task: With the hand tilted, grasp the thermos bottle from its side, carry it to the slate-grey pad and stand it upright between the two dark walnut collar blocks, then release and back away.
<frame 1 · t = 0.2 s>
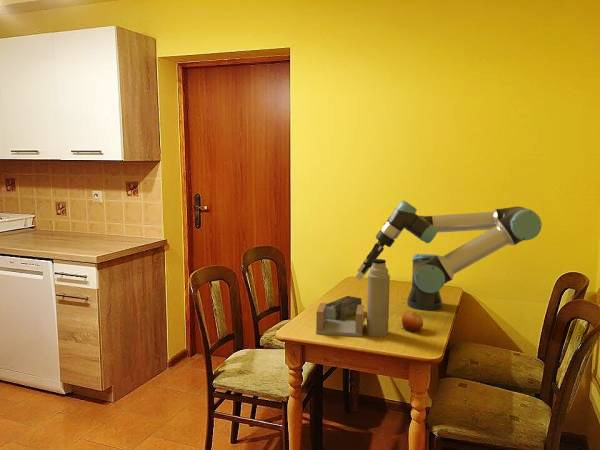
hand: (358, 275, 217), 16 cm above the table, tool tilted 35°, fingers open, 13 cm apart
thermos bottle: (377, 333, 193), on the table
fruit: (411, 330, 197), on the table
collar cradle: (340, 329, 197), on the table
beverage carton: (341, 316, 214), on the table
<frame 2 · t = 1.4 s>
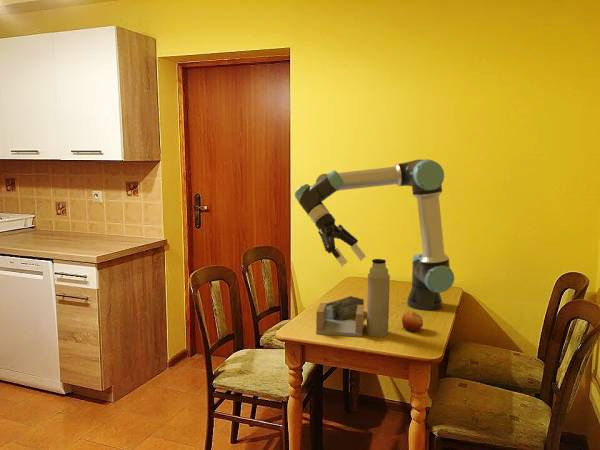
hand: (354, 261, 196), 26 cm above the table, tool tilted 45°, fingers open, 13 cm apart
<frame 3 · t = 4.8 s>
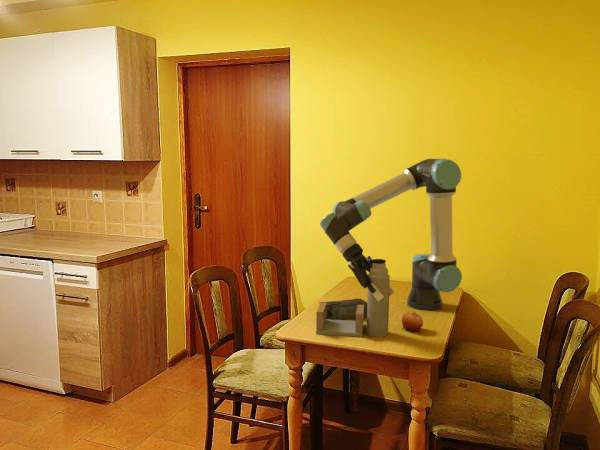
hand: (386, 296, 189), 15 cm above the table, tool tilted 45°, fingers closed on thermos bottle, 8 cm apart
thermos bottle: (377, 333, 193), on the table, touching gripper
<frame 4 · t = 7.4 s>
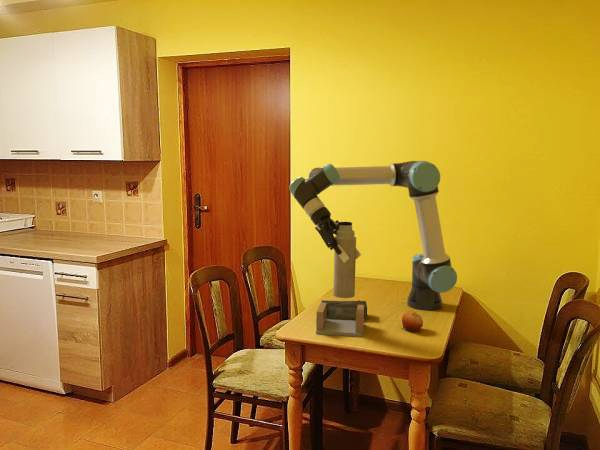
hand: (352, 258, 191), 28 cm above the table, tool tilted 45°, fingers closed on thermos bottle, 8 cm apart
thermos bottle: (344, 295, 195), point 13 cm above the table, touching gripper
when the fingers open (17 cm above the table, at t = 10.0 s): thermos bottle drops 1 cm, resting on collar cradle.
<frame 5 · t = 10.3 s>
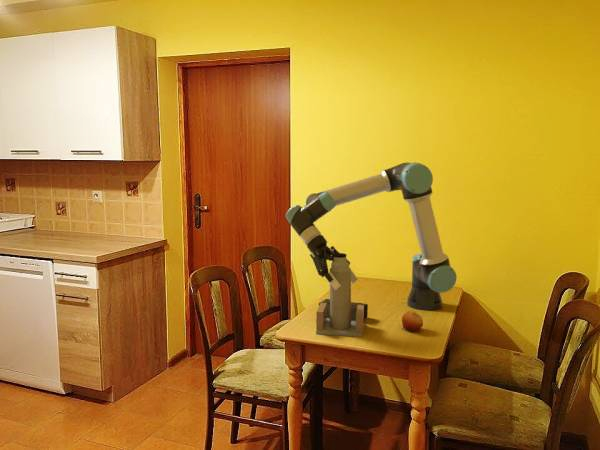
hand: (347, 284, 193), 18 cm above the table, tool tilted 45°, fingers open, 12 cm apart
thermos bottle: (340, 326, 197), point 1 cm above the table, touching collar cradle
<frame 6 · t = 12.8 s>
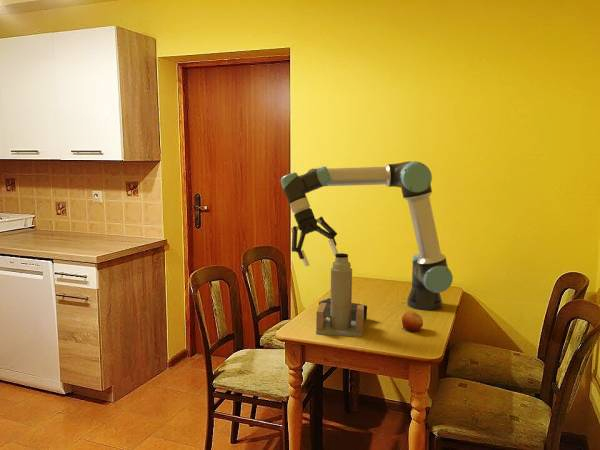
hand: (322, 260, 204), 25 cm above the table, tool tilted 25°, fingers open, 13 cm apart
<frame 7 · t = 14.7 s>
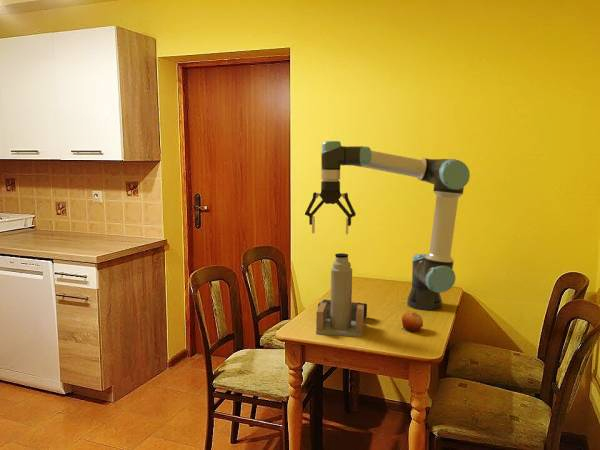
hand: (330, 233, 207), 35 cm above the table, tool pointing down, fingers open, 13 cm apart
at the end: thermos bottle inside the target area on the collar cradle (0.0 cm from its centre), point 1.0 cm above the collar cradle's base; thermos bottle tilted 0°; the gripper is holding nothing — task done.
